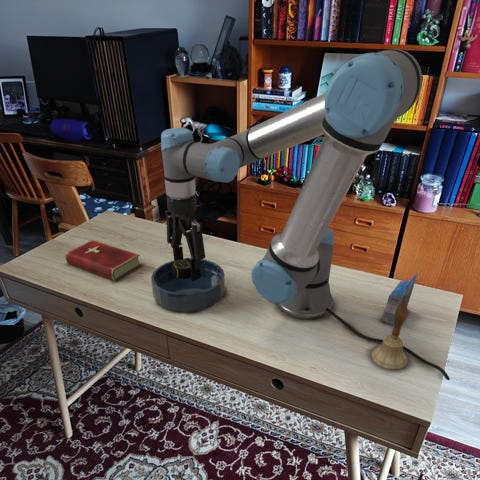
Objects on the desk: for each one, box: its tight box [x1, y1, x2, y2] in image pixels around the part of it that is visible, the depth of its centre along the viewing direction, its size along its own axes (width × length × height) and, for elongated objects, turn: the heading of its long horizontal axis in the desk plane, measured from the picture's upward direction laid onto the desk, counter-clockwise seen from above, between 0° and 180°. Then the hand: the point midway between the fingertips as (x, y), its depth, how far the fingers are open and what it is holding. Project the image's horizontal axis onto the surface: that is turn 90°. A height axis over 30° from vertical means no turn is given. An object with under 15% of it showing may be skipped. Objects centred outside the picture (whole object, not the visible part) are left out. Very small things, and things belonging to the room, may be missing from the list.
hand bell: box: [371, 301, 409, 371], centre depth 100 cm, size 8×8×16 cm
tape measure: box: [172, 257, 191, 279], centre depth 124 cm, size 7×7×4 cm
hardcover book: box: [64, 239, 142, 282], centre depth 142 cm, size 12×21×4 cm, turn 58°
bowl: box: [150, 257, 226, 313], centre depth 127 cm, size 21×21×6 cm
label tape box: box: [382, 271, 418, 326], centre depth 116 cm, size 9×4×12 cm, turn 145°
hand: (187, 273), depth 125 cm, fingers closed on tape measure, 7 cm apart
